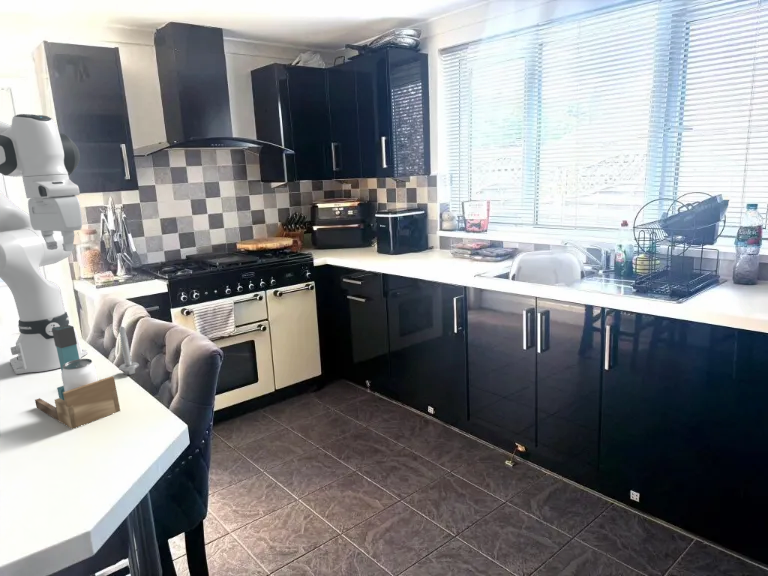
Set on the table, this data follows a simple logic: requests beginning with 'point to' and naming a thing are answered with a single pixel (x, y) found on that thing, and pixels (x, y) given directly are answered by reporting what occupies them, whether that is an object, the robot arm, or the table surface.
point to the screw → (126, 354)
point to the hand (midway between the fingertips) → (60, 250)
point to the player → (65, 348)
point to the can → (78, 373)
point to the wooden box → (84, 403)
